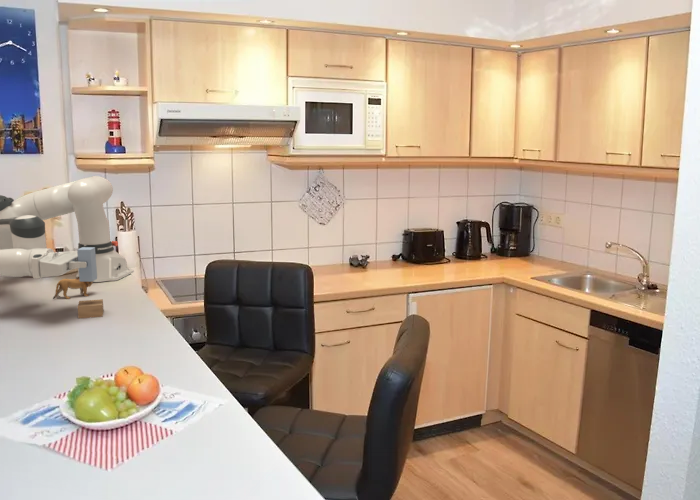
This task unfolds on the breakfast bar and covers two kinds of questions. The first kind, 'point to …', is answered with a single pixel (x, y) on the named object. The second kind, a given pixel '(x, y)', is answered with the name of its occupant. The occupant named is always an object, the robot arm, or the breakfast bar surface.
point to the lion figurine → (71, 287)
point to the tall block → (90, 271)
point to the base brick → (90, 308)
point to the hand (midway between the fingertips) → (90, 262)
